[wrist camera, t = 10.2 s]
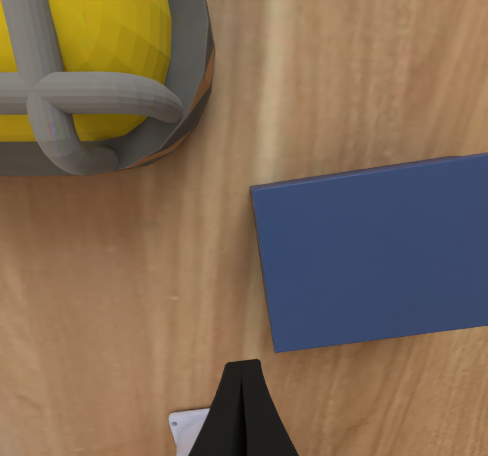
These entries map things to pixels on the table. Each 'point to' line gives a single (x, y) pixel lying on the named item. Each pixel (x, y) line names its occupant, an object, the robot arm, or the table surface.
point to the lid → (375, 253)
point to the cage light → (99, 82)
